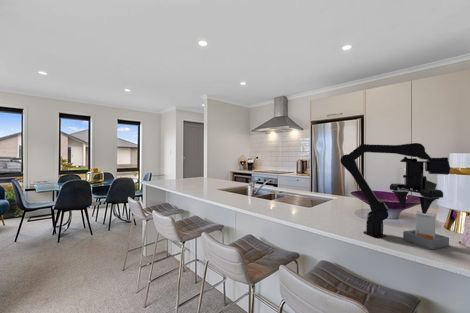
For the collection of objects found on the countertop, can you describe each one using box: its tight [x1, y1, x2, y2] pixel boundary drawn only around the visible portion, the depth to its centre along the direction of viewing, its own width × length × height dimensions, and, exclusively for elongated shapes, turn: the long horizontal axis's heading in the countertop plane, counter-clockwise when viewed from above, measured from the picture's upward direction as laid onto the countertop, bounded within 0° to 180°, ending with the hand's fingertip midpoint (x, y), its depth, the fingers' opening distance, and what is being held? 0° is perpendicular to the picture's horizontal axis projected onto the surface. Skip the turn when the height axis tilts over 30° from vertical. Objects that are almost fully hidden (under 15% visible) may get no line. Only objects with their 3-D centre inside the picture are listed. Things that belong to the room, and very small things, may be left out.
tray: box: [402, 229, 450, 251], centre depth 90 cm, size 10×10×4 cm
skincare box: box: [414, 210, 437, 240], centre depth 89 cm, size 6×4×12 cm
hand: (413, 210), depth 91 cm, fingers open, 9 cm apart
